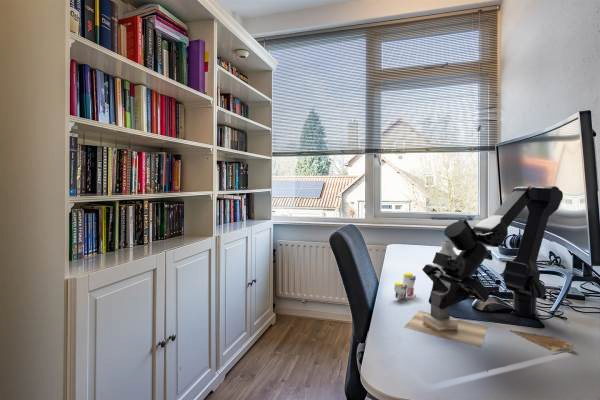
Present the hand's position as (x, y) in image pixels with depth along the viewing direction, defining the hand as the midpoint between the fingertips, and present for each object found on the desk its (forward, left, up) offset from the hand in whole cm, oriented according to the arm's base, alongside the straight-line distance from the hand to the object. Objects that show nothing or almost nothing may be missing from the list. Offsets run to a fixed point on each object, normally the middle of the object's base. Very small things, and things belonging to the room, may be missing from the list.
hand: (434, 305), depth 85 cm
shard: (-6, +23, -7) cm, 25 cm away
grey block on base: (-1, +1, -6) cm, 6 cm away
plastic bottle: (-25, -2, -7) cm, 26 cm away
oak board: (-2, +2, -7) cm, 7 cm away
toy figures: (-20, -14, -7) cm, 25 cm away
